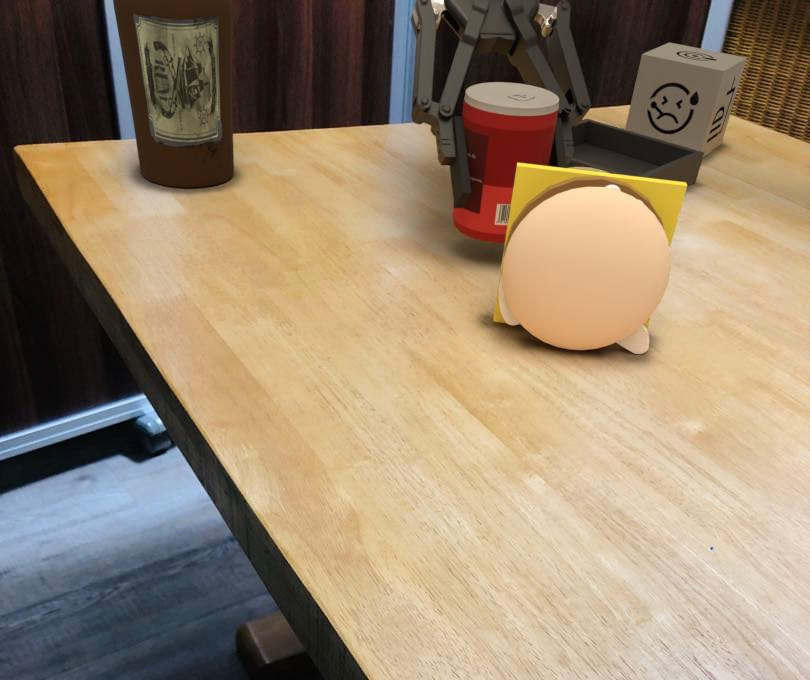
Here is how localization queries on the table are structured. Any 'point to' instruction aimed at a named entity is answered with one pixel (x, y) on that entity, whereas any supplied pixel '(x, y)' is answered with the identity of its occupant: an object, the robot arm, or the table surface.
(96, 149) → the table surface
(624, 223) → the hamburger
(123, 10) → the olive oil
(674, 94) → the icon cube
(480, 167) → the canned food
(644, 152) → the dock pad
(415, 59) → the robot arm
